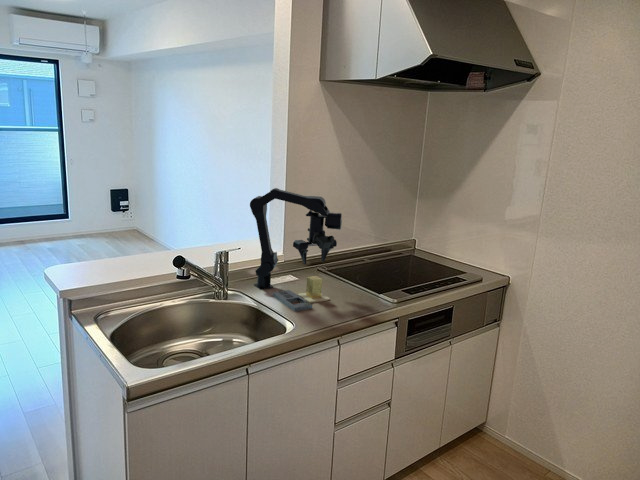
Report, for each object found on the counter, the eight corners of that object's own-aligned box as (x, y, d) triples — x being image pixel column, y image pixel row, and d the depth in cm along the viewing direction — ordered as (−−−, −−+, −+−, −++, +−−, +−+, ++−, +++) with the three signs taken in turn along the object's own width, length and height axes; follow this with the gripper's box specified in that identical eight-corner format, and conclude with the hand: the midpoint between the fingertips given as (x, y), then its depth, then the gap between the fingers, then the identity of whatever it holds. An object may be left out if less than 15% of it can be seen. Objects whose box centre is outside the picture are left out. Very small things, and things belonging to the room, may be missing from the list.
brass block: (305, 295, 206) (307, 277, 204) (314, 293, 208) (316, 275, 206) (311, 298, 202) (313, 280, 200) (320, 297, 204) (322, 279, 203)
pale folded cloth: (296, 295, 206) (297, 293, 206) (316, 291, 212) (316, 290, 212) (309, 303, 198) (309, 302, 198) (329, 299, 204) (330, 298, 204)
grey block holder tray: (272, 296, 203) (272, 292, 203) (289, 293, 208) (289, 289, 207) (294, 311, 189) (294, 307, 189) (312, 308, 193) (312, 304, 193)
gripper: (307, 233, 193) (305, 271, 197) (345, 230, 203) (342, 266, 207) (293, 226, 202) (291, 263, 206) (330, 224, 212) (327, 258, 216)
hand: (313, 263), depth 208 cm, fingers open, 9 cm apart
